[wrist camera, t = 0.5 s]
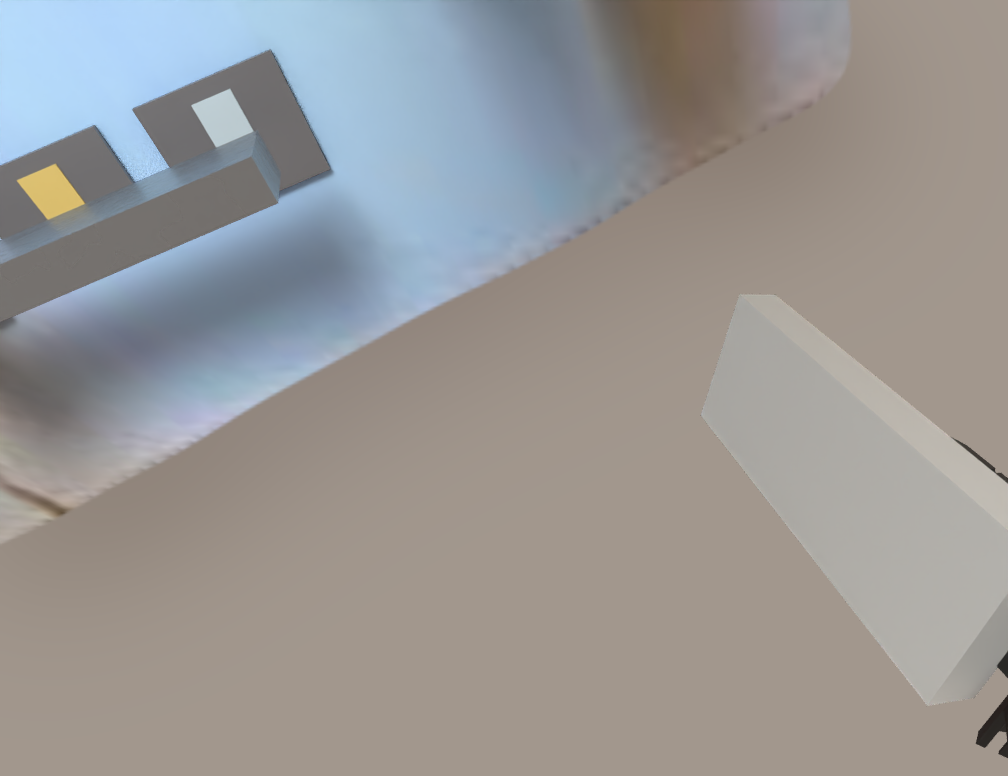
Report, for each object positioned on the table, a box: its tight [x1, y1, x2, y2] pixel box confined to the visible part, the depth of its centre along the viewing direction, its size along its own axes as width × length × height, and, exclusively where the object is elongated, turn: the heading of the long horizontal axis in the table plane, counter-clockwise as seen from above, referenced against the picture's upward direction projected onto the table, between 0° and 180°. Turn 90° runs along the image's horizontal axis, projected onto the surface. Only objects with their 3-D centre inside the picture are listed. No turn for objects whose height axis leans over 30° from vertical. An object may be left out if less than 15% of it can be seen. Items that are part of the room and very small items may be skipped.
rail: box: [0, 130, 281, 322], centre depth 29 cm, size 4×22×5 cm, turn 109°
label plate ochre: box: [0, 125, 134, 239], centre depth 35 cm, size 6×7×1 cm
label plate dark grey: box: [132, 50, 330, 191], centre depth 35 cm, size 6×7×1 cm
